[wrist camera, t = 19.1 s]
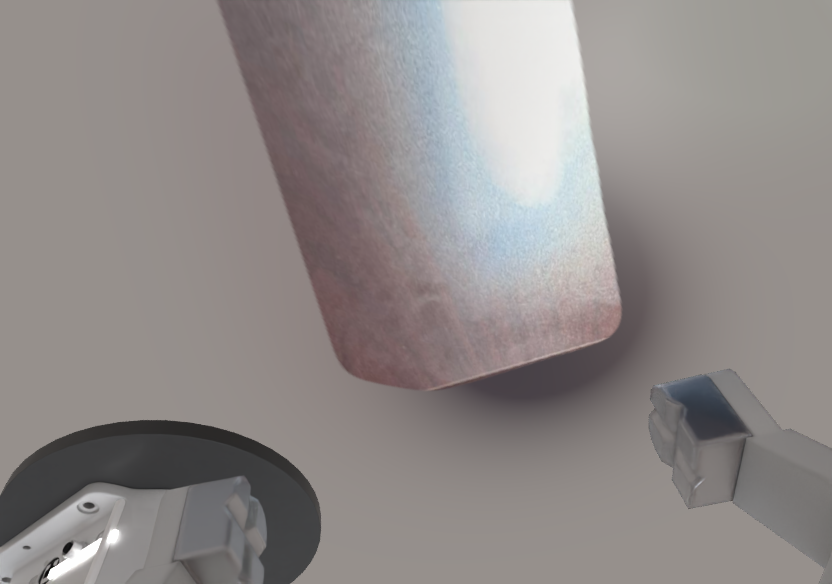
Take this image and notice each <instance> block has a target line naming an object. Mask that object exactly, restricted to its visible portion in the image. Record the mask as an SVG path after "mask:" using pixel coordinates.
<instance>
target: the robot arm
mask: <svg viewBox="0 0 832 584" xmlns="http://www.w3.org/2000/svg"><path fill="white" fill-rule="evenodd" d="M650 400H651V402H652V403H653V405H654V407H655V409H654V410H653V411H652V412H651V413H650V414H649V431H650V435H651V440H652V443H653V445H654V448H655V450H656V452H657V454H658V455H659V458H660V459H661V461H662V462H664V463H665V464H667V465H669V466H670V467H672V468H673V475H672V481H673V483H674V484H675V486H676V488H677V489H678V492H679V493H680V495H681V497H682V498H683V500H684V502H685V504H686V506H687V507H688V509H690V508H696V507H702V506H707V505H712V504H717V503H722V502H728V501H733V504H735V505H736V506H738V507H739V508H740V509H742V510H744V511H745V512H746V513H747V514H749V515H750V516H752V517H753V518H755V519H756V520H757V521H759V522H760V523H762V524H763V525H764V526H766V527H767V528H769V529H770V530H772V531H773V532H774V533H776V534H777V535H778V536H780V537H781V538H783V539H784V540H785V541H787V542H788V543H790V544H791V545H792V546H794V547H795V548H797V549H798V550H799V551H801V552H802V553H804V554H805V555H806V556H808V557H809V558H811V559H812V560H814V561H815V562H816V563H818V564H819V565H821V566H822V567H823V568H825V569H824V572H823V574H822V577H821V579H820V582H819V584H832V448H829V447H828V446H825V445H823V444H821V443H819V442H817V441H815V440H813V439H811V438H809V437H807V436H804V435H803V434H800V433H798V432H796V431H794V430H792V429H786V430H782V429H781V427H780V426H779V425H778V424H777V423H776V421H775V420H774V419H773V418H772V417H771V415H770V414H769V413H768V411H767V410H766V409H765V408H764V407H763V405H762V404H761V403H760V402H759V400H758V399H757V398H756V397H755V395H754V394H753V393H752V392H751V391H750V389H749V388H748V387H747V386H746V384H745V383H744V382H743V381H742V380H741V378H740V377H739V376H738V375H737V373H736V372H735V371H733V370H731V369H726V370H722V371H717V372H713V373H708V374H705V375H698V376H693V377H688V378H684V379H680V380H675V381H671V382H667V383H663V384H658V385H654V386H653V388H652V389H651V395H650ZM250 489H251V485H250V484H249V482H248V480H247V479H246V477H245V476H237V477H232V478H226V479H221V480H216V481H211V482H205V483H200V484H195V485H191V486H186V487H181V488H176V489H171V490H168V489H132V488H128V487H124V486H120V485H115V484H110V483H104V482H95V483H91V484H89V485H87V486H85V487H84V488H82V489H81V490H80V491H78V492H77V493H75V494H74V495H73V496H71V497H70V498H68V499H67V500H66V501H64V502H63V503H61V504H60V505H59V506H57V507H56V508H54V509H53V510H52V511H50V512H49V513H47V514H46V515H45V516H43V517H42V518H40V519H39V520H38V521H36V522H35V523H33V524H32V525H30V526H29V527H28V528H26V529H25V530H23V531H22V532H21V533H19V534H18V535H16V536H15V537H14V538H12V539H11V540H9V541H8V542H7V543H5V544H4V545H2V546H1V547H0V584H263V579H264V567H263V565H262V563H261V562H260V560H259V556H260V555H261V553H262V552H263V551H264V549H265V548H266V541H267V528H266V518H265V515H264V511H263V508H262V506H261V504H260V502H259V500H258V499H256V498H254V497H252V496H250Z"/></svg>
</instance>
